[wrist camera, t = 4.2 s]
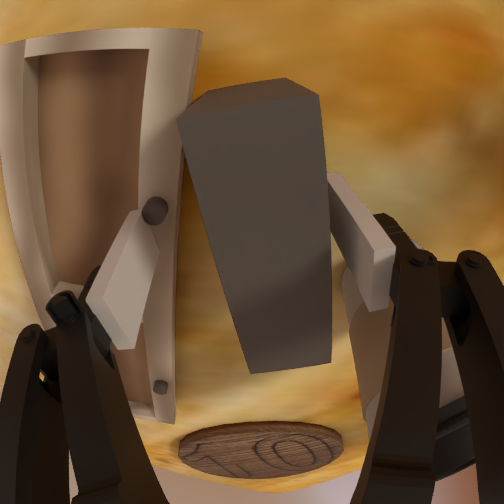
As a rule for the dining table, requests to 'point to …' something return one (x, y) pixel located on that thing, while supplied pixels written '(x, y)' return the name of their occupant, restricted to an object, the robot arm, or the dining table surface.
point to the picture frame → (266, 216)
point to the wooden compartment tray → (100, 173)
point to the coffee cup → (372, 372)
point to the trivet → (260, 449)
